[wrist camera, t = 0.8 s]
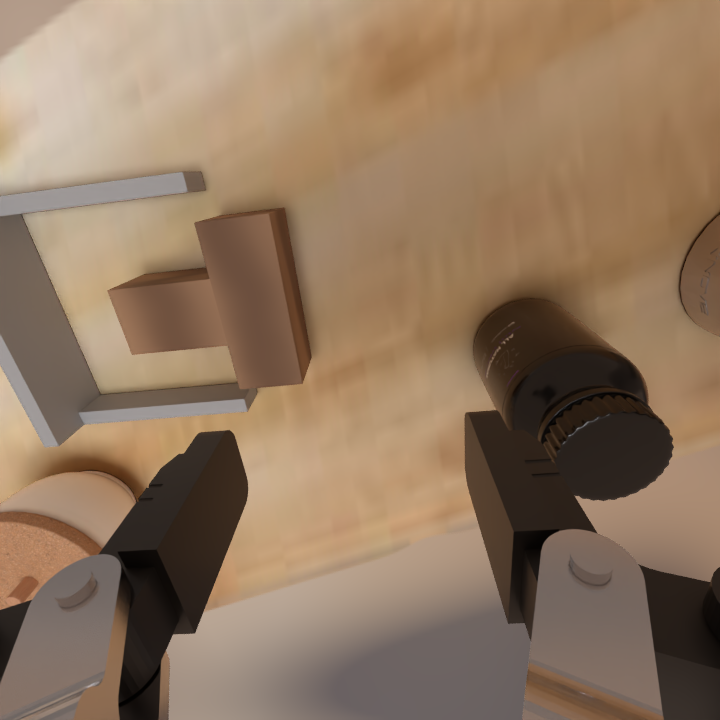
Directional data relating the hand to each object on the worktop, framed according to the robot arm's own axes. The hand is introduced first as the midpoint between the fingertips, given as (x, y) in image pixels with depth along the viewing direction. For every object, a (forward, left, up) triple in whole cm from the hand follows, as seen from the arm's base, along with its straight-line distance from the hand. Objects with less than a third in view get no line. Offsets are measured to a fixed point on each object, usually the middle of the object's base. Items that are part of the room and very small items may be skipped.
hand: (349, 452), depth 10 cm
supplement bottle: (-10, +5, -18) cm, 21 cm away
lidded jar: (+25, +16, -18) cm, 35 cm away
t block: (+9, 0, -18) cm, 20 cm away
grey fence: (+15, 0, -18) cm, 23 cm away
